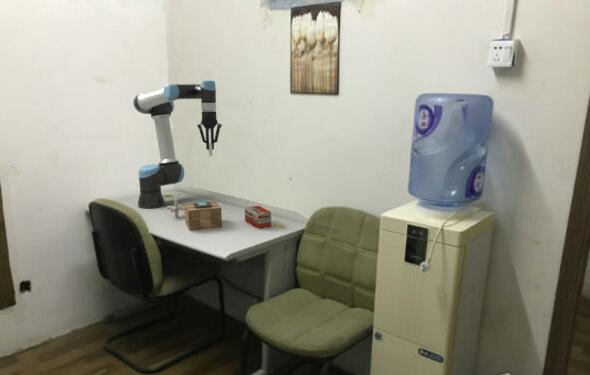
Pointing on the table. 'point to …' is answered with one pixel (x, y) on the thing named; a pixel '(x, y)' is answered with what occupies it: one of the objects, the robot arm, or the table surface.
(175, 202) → the pipe connector
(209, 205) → the collar
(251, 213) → the medicine box
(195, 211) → the socket block
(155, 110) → the robot arm
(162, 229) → the table surface
